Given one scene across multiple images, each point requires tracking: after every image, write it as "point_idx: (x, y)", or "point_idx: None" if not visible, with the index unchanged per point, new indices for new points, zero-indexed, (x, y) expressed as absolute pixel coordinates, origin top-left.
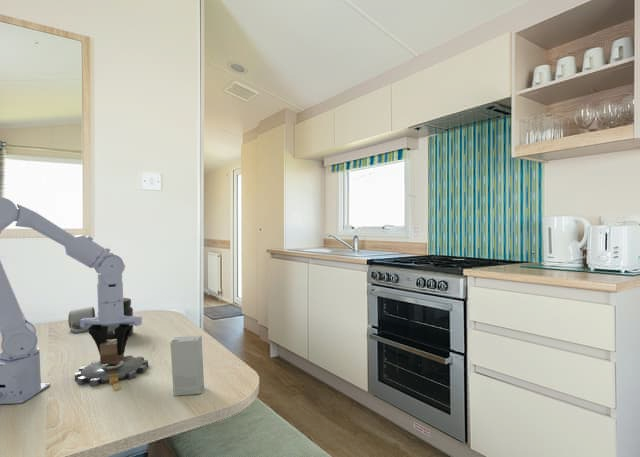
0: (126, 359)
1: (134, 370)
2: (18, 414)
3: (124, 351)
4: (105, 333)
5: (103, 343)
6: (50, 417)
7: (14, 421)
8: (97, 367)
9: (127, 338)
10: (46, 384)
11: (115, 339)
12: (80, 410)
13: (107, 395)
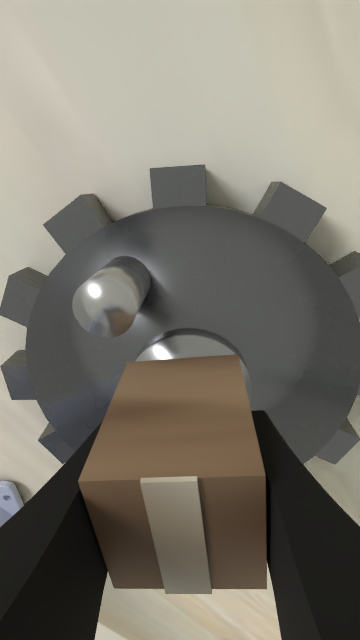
0: (208, 263)
1: (341, 417)
2: (104, 607)
3: (269, 418)
4: (44, 606)
5: (129, 571)
6: (204, 621)
7: (127, 627)
8: (106, 391)
9: (336, 509)
10: (4, 493)
11: (179, 495)
12: (263, 603)
13: None
